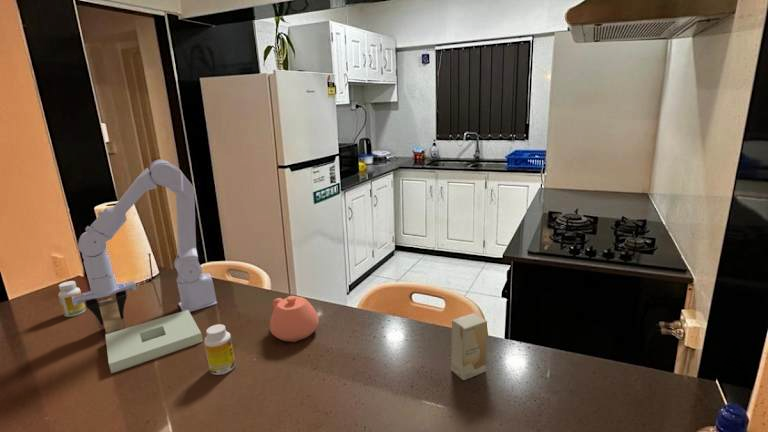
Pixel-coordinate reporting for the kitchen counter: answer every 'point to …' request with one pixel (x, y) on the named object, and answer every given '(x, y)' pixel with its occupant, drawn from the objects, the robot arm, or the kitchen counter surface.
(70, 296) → the supplement bottle
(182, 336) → the socket board
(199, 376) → the kitchen counter surface
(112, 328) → the oak peg
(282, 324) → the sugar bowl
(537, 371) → the kitchen counter surface
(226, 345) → the supplement bottle
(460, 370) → the skincare box
